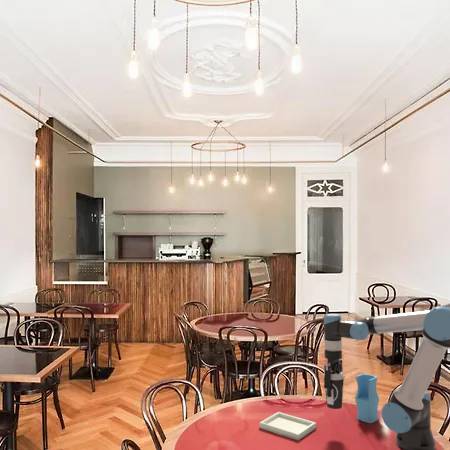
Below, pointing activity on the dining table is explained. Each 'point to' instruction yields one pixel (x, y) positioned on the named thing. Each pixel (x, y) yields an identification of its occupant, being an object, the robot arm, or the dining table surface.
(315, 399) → the dining table surface
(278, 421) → the tray
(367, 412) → the vase
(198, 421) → the dining table surface
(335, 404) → the coffee cup
